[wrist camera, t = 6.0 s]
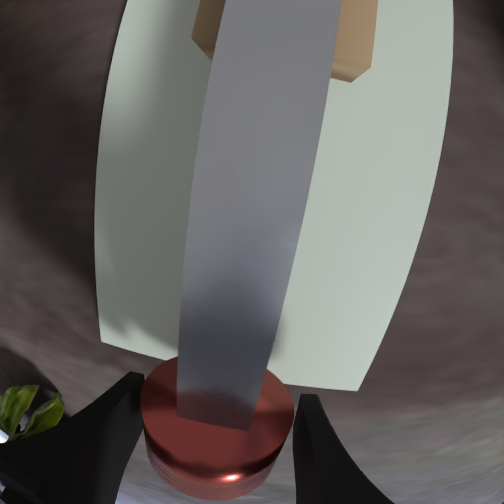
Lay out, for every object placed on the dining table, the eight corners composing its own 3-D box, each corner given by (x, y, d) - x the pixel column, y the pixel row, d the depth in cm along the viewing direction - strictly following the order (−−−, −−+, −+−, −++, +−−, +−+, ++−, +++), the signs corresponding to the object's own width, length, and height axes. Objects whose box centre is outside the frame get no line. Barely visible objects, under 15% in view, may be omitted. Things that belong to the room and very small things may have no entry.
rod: (374, -66, 6) (413, -142, 1) (272, 422, 13) (267, 515, 8) (237, -88, 6) (215, -171, 1) (166, 401, 13) (132, 487, 8)
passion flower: (107, 408, 25) (84, 507, 19) (13, 363, 22) (-11, 462, 16) (106, 414, 16) (78, 553, 10) (-28, 344, 13) (-56, 483, 7)
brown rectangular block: (360, 14, 8) (378, -14, 6) (350, 83, 9) (370, 67, 7) (224, -9, 8) (212, -40, 6) (209, 59, 9) (191, 38, 7)
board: (432, -90, 5) (438, -97, 4) (354, 377, 15) (357, 390, 14) (196, -128, 5) (192, -138, 5) (109, 330, 15) (101, 341, 14)
